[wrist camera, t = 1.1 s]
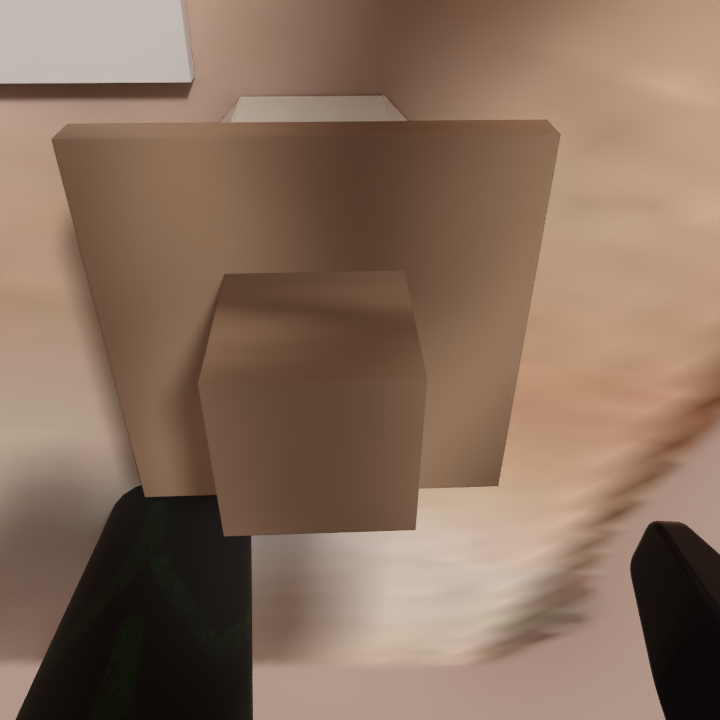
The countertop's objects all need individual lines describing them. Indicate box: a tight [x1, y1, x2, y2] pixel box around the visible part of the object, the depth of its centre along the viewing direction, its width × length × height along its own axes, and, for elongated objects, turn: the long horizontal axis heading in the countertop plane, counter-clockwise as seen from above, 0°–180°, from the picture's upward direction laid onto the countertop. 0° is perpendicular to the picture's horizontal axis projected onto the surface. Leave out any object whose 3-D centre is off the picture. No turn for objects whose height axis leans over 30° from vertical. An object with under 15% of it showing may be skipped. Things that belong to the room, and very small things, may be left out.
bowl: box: [219, 95, 408, 123], centre depth 19 cm, size 9×9×4 cm
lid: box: [51, 120, 560, 536], centre depth 15 cm, size 10×10×5 cm
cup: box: [16, 485, 253, 720], centre depth 22 cm, size 8×8×12 cm
